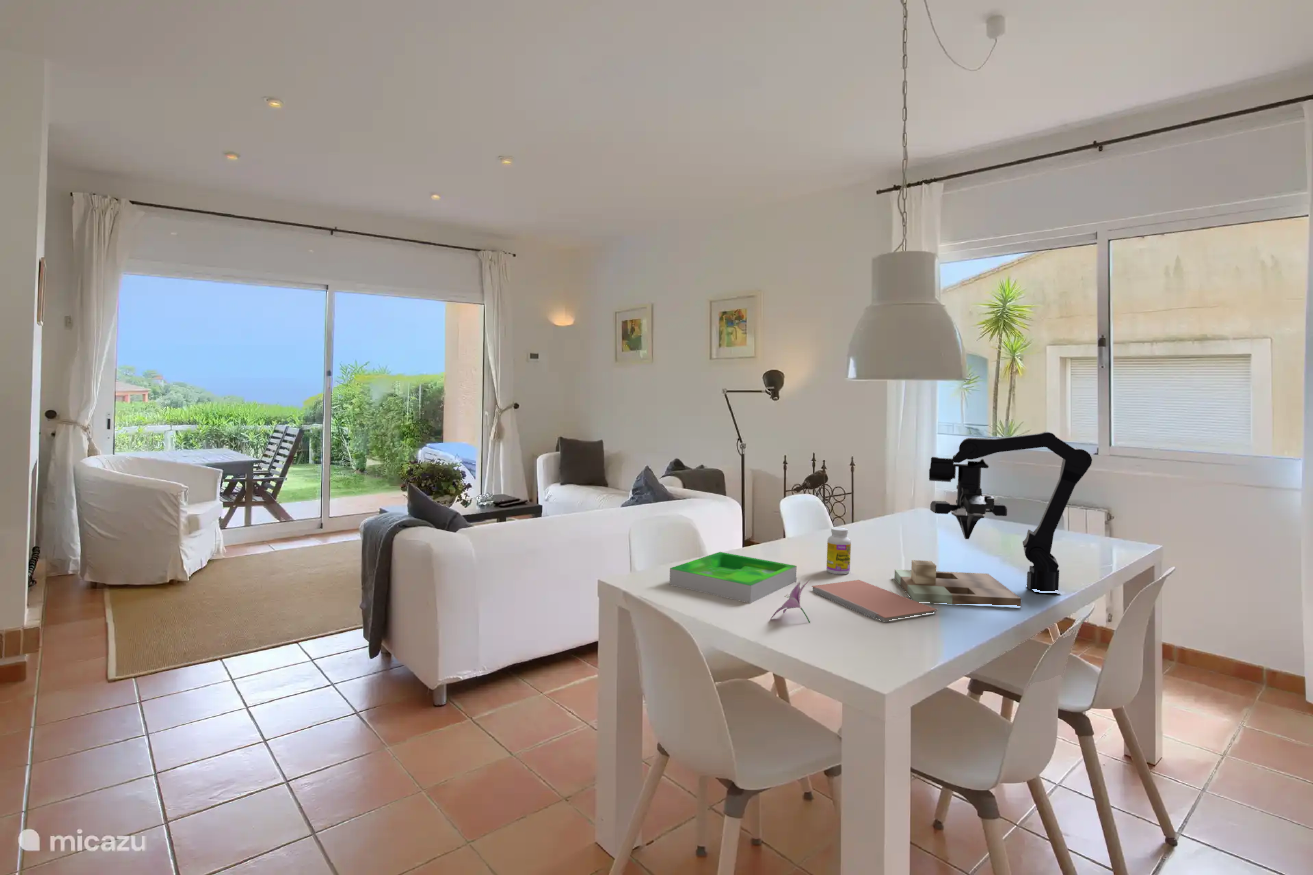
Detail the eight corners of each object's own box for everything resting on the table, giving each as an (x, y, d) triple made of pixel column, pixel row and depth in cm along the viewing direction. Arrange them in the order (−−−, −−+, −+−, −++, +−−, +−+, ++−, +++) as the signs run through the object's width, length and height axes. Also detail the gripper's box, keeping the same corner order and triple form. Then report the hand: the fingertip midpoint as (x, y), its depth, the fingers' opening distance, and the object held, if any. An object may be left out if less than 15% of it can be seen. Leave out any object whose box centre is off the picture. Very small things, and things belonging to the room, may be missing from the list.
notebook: (808, 592, 177) (808, 585, 177) (858, 585, 184) (859, 578, 183) (881, 625, 152) (881, 616, 152) (936, 616, 159) (937, 608, 159)
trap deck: (987, 582, 187) (988, 573, 186) (1020, 608, 164) (1021, 598, 164) (894, 578, 190) (894, 569, 190) (914, 602, 167) (914, 593, 167)
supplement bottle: (833, 575, 192) (835, 531, 191) (822, 569, 198) (823, 526, 197) (854, 574, 194) (855, 530, 193) (842, 568, 200) (843, 525, 199)
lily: (807, 614, 161) (788, 577, 162) (838, 608, 151) (818, 570, 152) (772, 638, 155) (752, 600, 156) (801, 634, 145) (780, 593, 146)
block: (930, 579, 180) (931, 560, 180) (935, 584, 175) (936, 565, 175) (911, 578, 181) (911, 560, 180) (915, 583, 176) (916, 564, 175)
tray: (750, 605, 166) (751, 585, 165) (669, 586, 181) (669, 568, 181) (796, 583, 185) (796, 565, 185) (719, 568, 201) (719, 551, 200)
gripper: (942, 486, 179) (939, 543, 180) (1016, 488, 176) (1013, 546, 177) (930, 480, 190) (928, 535, 191) (1000, 482, 187) (998, 538, 188)
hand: (966, 538), depth 187 cm, fingers closed
